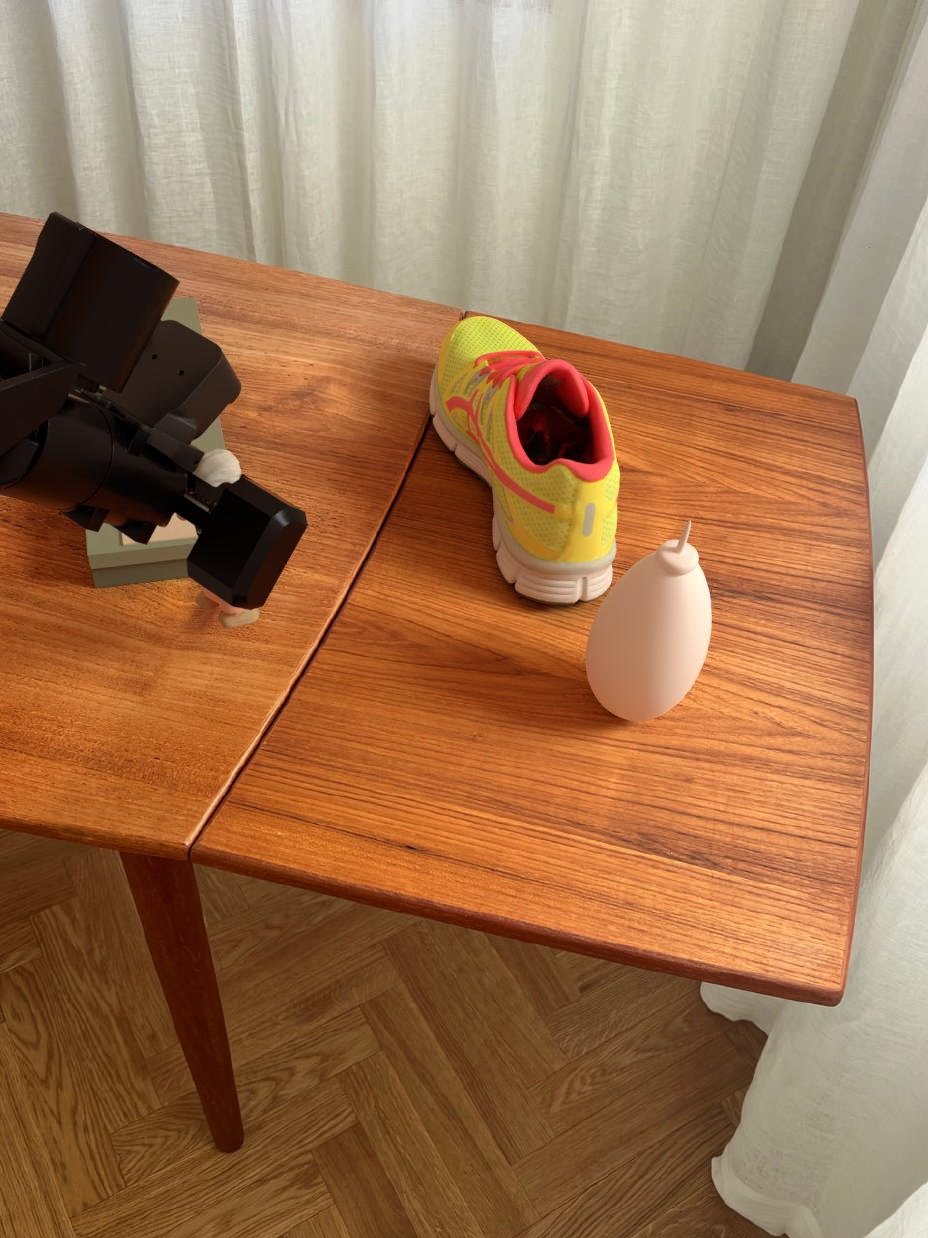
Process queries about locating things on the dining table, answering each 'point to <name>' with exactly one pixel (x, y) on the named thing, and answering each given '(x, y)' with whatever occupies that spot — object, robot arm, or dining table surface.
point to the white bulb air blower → (651, 633)
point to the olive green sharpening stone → (168, 546)
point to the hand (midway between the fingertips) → (232, 511)
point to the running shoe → (532, 458)
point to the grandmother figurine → (214, 471)
